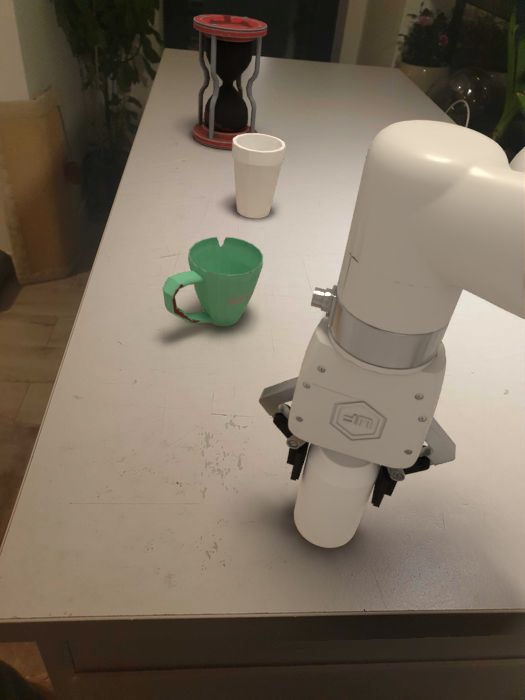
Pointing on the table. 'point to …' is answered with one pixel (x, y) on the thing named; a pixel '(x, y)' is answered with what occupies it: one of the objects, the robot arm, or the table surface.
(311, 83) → the table surface
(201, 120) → the hourglass
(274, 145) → the foam cup
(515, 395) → the table surface
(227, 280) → the mug
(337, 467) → the beverage can
